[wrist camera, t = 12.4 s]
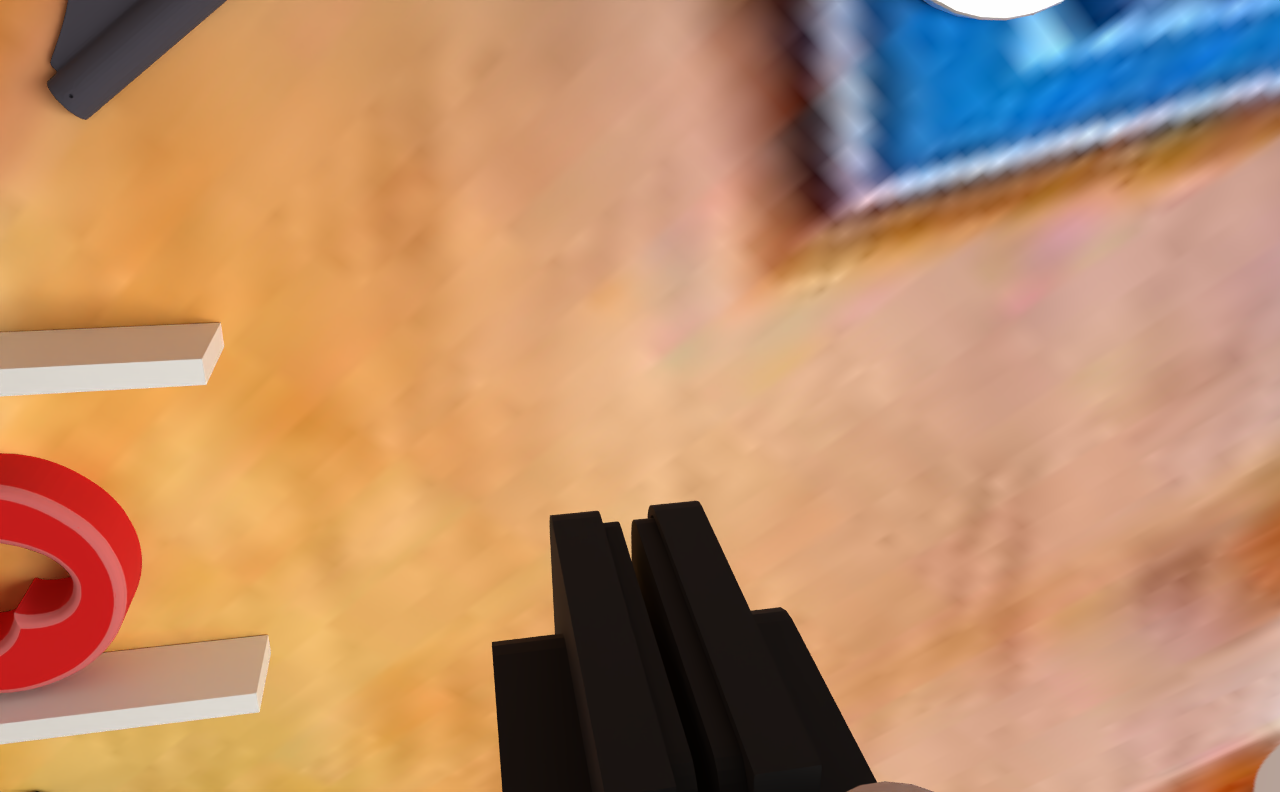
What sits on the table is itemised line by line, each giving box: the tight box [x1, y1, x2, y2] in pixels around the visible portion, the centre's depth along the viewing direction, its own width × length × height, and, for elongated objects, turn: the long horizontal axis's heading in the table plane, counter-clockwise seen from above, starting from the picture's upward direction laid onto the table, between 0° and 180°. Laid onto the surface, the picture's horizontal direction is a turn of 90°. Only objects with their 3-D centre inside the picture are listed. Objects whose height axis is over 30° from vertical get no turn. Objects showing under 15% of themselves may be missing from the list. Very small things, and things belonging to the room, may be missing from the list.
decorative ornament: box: [0, 453, 142, 693], centre depth 39 cm, size 10×10×3 cm
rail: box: [0, 323, 271, 744], centre depth 38 cm, size 16×16×4 cm
